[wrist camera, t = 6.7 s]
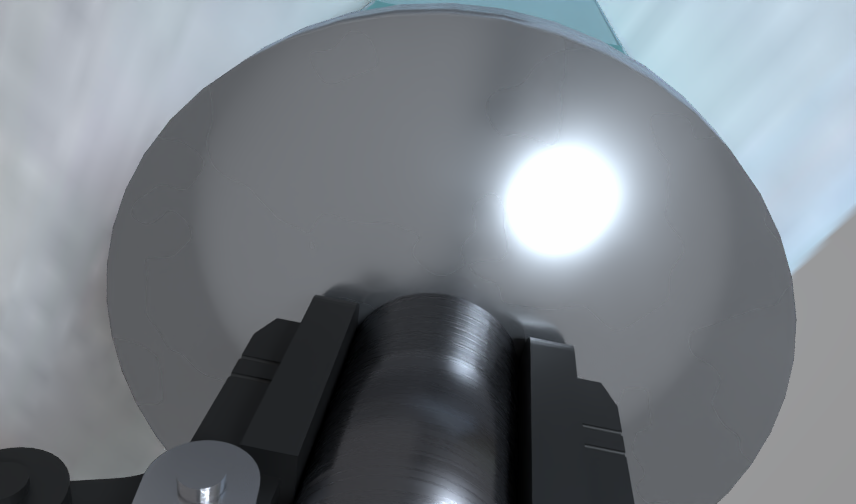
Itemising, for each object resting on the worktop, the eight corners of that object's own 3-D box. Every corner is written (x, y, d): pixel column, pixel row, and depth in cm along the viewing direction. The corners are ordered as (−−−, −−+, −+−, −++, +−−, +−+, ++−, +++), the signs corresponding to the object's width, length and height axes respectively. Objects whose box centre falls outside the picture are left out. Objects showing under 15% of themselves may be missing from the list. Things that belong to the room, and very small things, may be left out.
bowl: (290, -57, 17) (205, -32, 12) (723, 22, 16) (797, 77, 12) (269, 305, 21) (203, 417, 17) (604, 371, 21) (625, 503, 17)
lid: (119, -62, 10) (-225, -8, 6) (901, 80, 10) (1243, 268, 5) (145, 491, 16) (-20, 760, 11) (656, 597, 15) (716, 923, 11)
